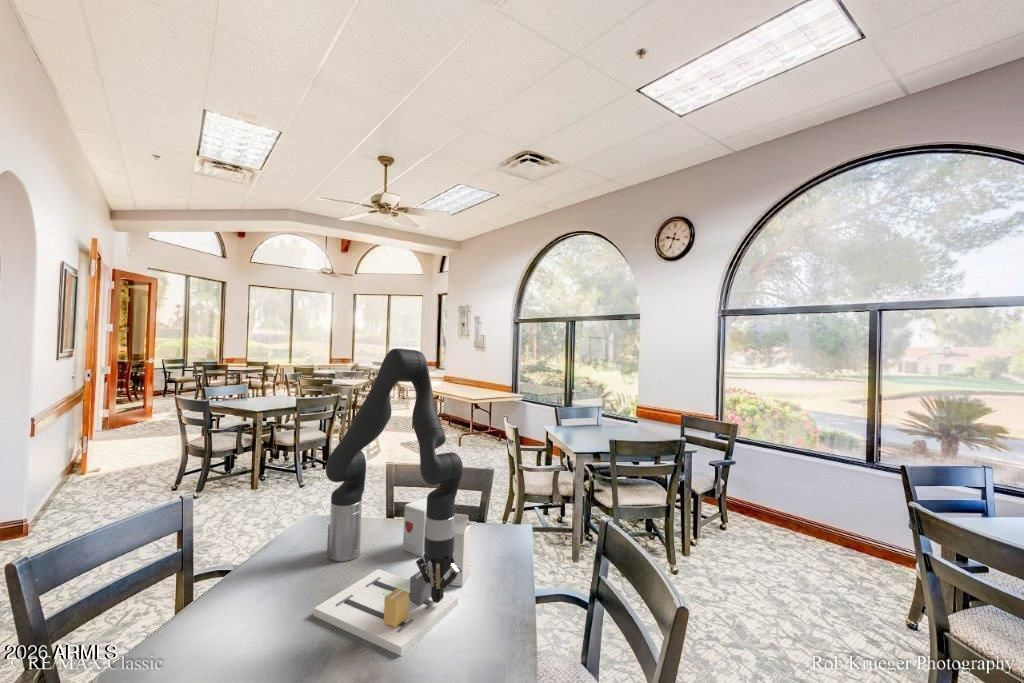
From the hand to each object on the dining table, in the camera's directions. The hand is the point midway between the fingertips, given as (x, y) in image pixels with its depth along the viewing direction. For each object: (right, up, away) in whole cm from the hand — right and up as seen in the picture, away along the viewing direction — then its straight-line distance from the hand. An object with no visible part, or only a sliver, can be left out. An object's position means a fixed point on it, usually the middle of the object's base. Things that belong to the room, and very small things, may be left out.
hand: (437, 600), depth 113 cm
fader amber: (-9, -1, -7) cm, 11 cm away
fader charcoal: (-5, -1, +2) cm, 5 cm away
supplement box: (-11, -3, +35) cm, 37 cm away
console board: (-13, -3, +1) cm, 13 cm away
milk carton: (+2, -4, +17) cm, 17 cm away
